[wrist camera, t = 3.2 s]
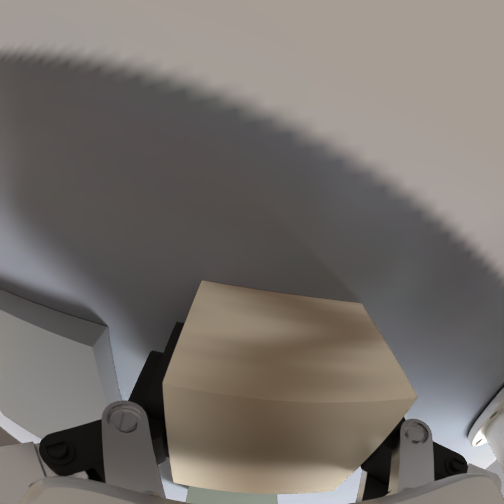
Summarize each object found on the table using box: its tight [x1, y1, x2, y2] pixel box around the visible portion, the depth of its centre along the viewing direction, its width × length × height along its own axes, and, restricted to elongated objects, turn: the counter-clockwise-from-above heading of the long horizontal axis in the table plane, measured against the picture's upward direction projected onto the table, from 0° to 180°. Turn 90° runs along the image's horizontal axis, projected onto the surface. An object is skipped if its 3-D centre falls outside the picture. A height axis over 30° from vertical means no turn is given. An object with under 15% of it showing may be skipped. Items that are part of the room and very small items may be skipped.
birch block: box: [162, 281, 418, 494], centre depth 8 cm, size 6×6×5 cm
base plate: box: [0, 289, 122, 439], centre depth 12 cm, size 14×14×2 cm
